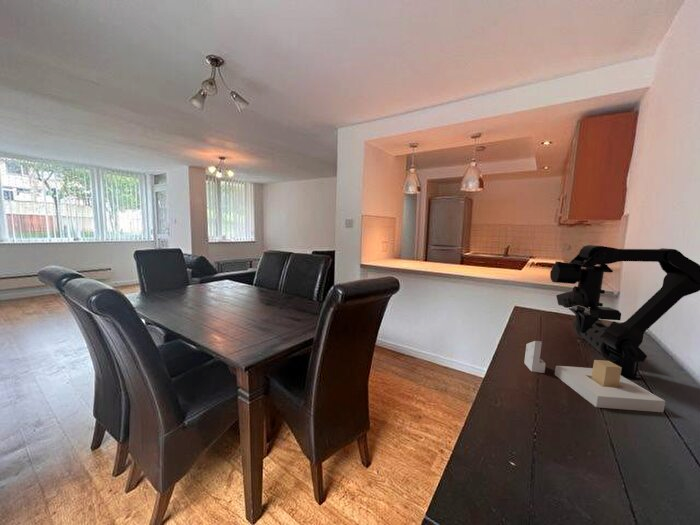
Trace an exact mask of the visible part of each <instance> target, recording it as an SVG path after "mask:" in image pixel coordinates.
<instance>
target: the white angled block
mask: <svg viewBox="0 0 700 525" xmlns="http://www.w3.org/2000/svg"><path fill="white" fill-rule="evenodd" d="M542 343H543V342H542V341H540V340H533V341H531V342H528V343H526V346H525V355H524V361H523V362H524V365H526V367H527V369H529V370H530V371H531V372H534V373H539V374H540V373H541V374H545V373H546V372H545V371H546V365H547V364H546V362H545V361H544V360H543V359H541V351H542V345H543V344H542Z"/></svg>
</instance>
